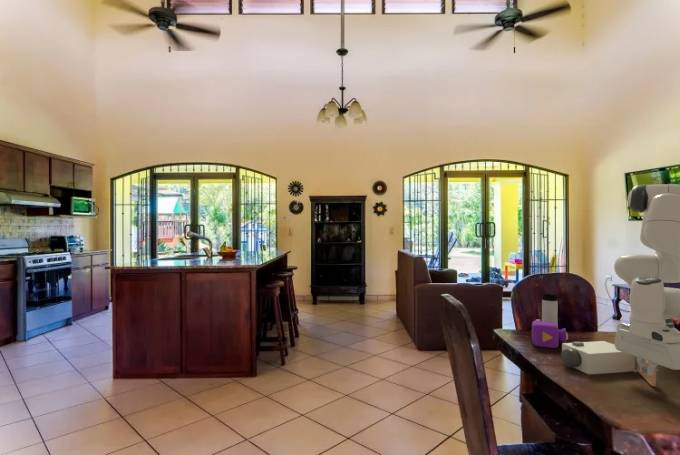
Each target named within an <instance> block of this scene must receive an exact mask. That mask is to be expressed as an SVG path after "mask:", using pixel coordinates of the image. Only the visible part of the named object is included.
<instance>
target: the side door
mask: <svg viewBox="0 0 680 455" xmlns="http://www.w3.org/2000/svg"><path fill="white" fill-rule="evenodd" d="M645 363H646V366H647V367H648V366H649V364H648V361H647V360H646V361H645ZM634 370H635V371H637V373H639V375H641V376H642V377H643V378H644V380H646V382H647V383H648V384H649V385H650V386H652V387H657V385H656V384H659V369H658V368H657V367H656V368H655V369H654V374H653V375H647V374H645V373H642V372H640V366H639V364H638V362H637V357H636V356H634V359H633V371H634Z"/></svg>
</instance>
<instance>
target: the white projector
mask: <svg viewBox="0 0 680 455" xmlns="http://www.w3.org/2000/svg"><path fill="white" fill-rule="evenodd" d="M614 344H615V343H611V342H609V341H605V340H600V341H599V340H597V341H572V342H566V343H563V342H561V353H560V358H561V362H562V363H563V365H564V366H566V368H573V369H576V370H578V371H580V372H583V373H585V374H587V375H601V374H612V373H614V374H615V373H627V372H629V373H630V372H634V356H633V355H630V354H627V353H624V352H622V351H619V350H617V349H616V348H615V345H614Z"/></svg>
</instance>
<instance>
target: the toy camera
mask: <svg viewBox="0 0 680 455" xmlns="http://www.w3.org/2000/svg"><path fill="white" fill-rule="evenodd" d="M566 329H567V328H565V327H564V328H562V329H559V327H558V326H557V325H556V323H554V322H548V321H542V320H541V319H535V320H533V321H532V322H531V340H532V343H533V345H534V346H535V347H541V348H549V349H557V348H558V347H559V341H560V342H561V343H567V340H568V339H569V335H568V332H567V330H566Z"/></svg>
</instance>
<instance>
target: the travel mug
mask: <svg viewBox="0 0 680 455" xmlns="http://www.w3.org/2000/svg"><path fill="white" fill-rule="evenodd" d="M541 294H542V295H541V296H542V299H541V321H548V322H554V323H556V325H557V326H558V325H559V324H558V319H559V318H558V313H559V312H558V308H559V306H558V305H559V304H558V303H559V302H558V294H554V293H553V294H551V293H548V292H546V293H545V292H542V293H541Z"/></svg>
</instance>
